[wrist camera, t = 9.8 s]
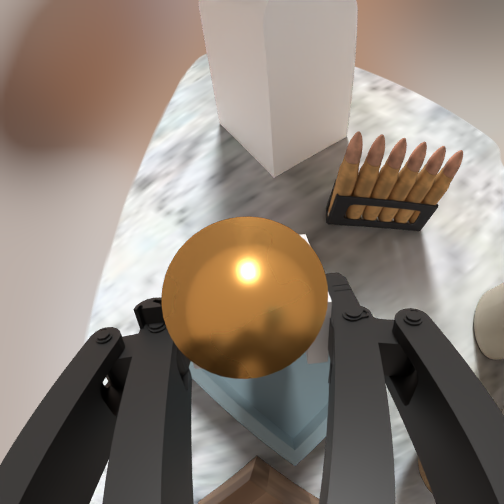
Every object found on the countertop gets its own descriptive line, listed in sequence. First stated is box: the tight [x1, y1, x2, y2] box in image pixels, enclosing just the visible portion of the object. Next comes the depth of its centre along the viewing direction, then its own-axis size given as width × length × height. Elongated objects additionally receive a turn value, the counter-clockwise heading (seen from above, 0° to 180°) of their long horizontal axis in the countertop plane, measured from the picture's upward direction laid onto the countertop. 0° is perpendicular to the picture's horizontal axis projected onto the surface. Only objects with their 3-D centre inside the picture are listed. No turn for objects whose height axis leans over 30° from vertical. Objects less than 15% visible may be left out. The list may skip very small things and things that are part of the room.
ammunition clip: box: [326, 132, 463, 231], centre depth 22 cm, size 11×2×12 cm, turn 84°
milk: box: [199, 0, 358, 178], centre depth 22 cm, size 12×12×26 cm
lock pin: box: [162, 217, 328, 379], centre depth 14 cm, size 4×4×16 cm
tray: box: [189, 352, 330, 466], centre depth 22 cm, size 16×12×4 cm
